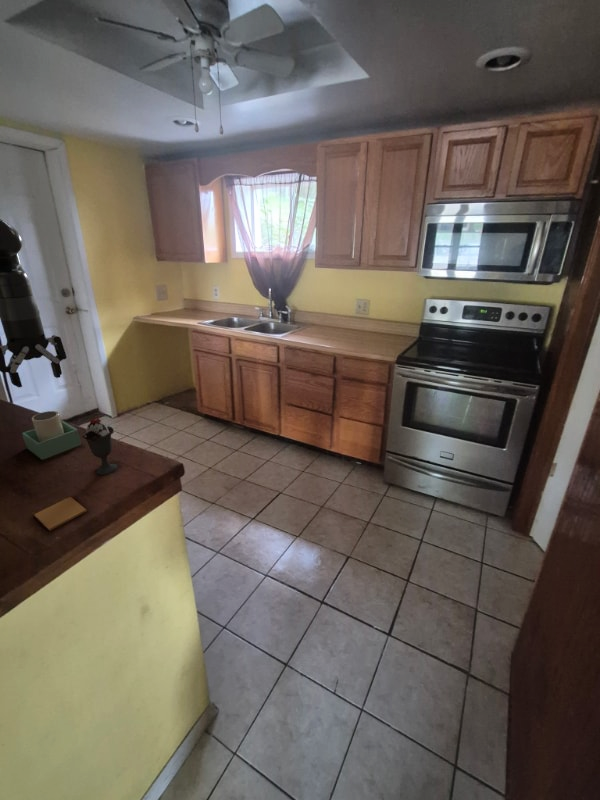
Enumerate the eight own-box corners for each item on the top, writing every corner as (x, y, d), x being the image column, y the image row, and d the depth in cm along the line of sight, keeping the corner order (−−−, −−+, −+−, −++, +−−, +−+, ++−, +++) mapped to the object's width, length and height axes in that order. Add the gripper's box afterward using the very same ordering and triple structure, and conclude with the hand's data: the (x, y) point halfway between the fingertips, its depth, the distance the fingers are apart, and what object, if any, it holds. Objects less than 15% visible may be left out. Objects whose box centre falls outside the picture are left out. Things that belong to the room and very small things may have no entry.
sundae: (111, 458, 95) (99, 405, 89) (126, 467, 91) (114, 412, 85) (85, 470, 90) (70, 414, 84) (100, 480, 86) (85, 422, 80)
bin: (42, 461, 93) (37, 444, 91) (27, 449, 98) (21, 432, 96) (82, 446, 100) (77, 429, 98) (65, 435, 105) (61, 419, 103)
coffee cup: (46, 454, 95) (37, 422, 92) (37, 447, 98) (27, 416, 95) (71, 445, 100) (63, 414, 96) (61, 438, 103) (52, 408, 99)
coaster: (49, 531, 71) (49, 529, 71) (34, 516, 75) (33, 514, 75) (86, 511, 76) (86, 509, 76) (70, 498, 80) (70, 496, 80)
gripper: (47, 310, 93) (62, 371, 99) (-24, 318, 82) (-1, 386, 89) (60, 313, 89) (75, 377, 95) (-12, 323, 78) (11, 393, 85)
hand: (38, 381), depth 92 cm, fingers open, 8 cm apart
